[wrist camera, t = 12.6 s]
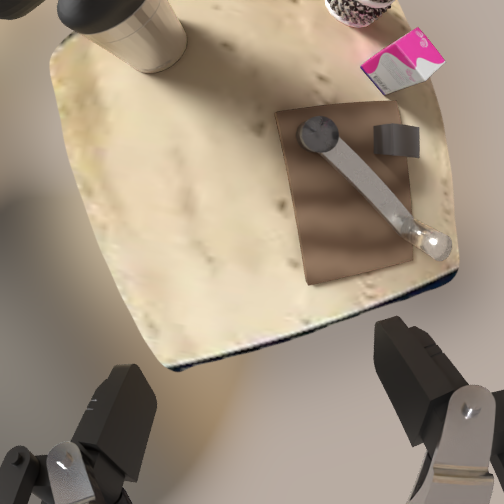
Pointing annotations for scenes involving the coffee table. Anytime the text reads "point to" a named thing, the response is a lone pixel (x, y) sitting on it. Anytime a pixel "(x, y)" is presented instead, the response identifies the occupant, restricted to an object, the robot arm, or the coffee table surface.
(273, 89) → the coffee table surface
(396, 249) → the brown board
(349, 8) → the white patterned cylinder
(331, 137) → the lever
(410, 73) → the supplement box
